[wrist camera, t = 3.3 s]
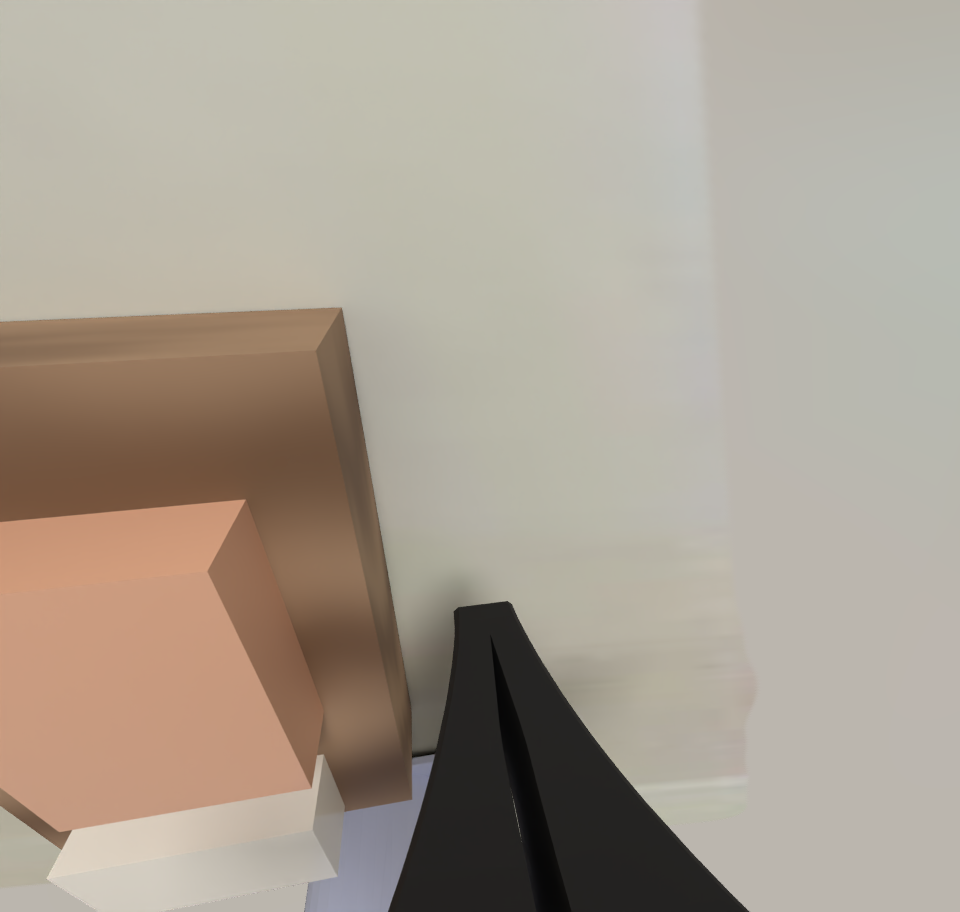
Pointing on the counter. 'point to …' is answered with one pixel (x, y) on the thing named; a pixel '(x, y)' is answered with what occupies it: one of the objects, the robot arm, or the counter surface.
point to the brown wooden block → (227, 486)
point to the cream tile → (206, 851)
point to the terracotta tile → (148, 666)
